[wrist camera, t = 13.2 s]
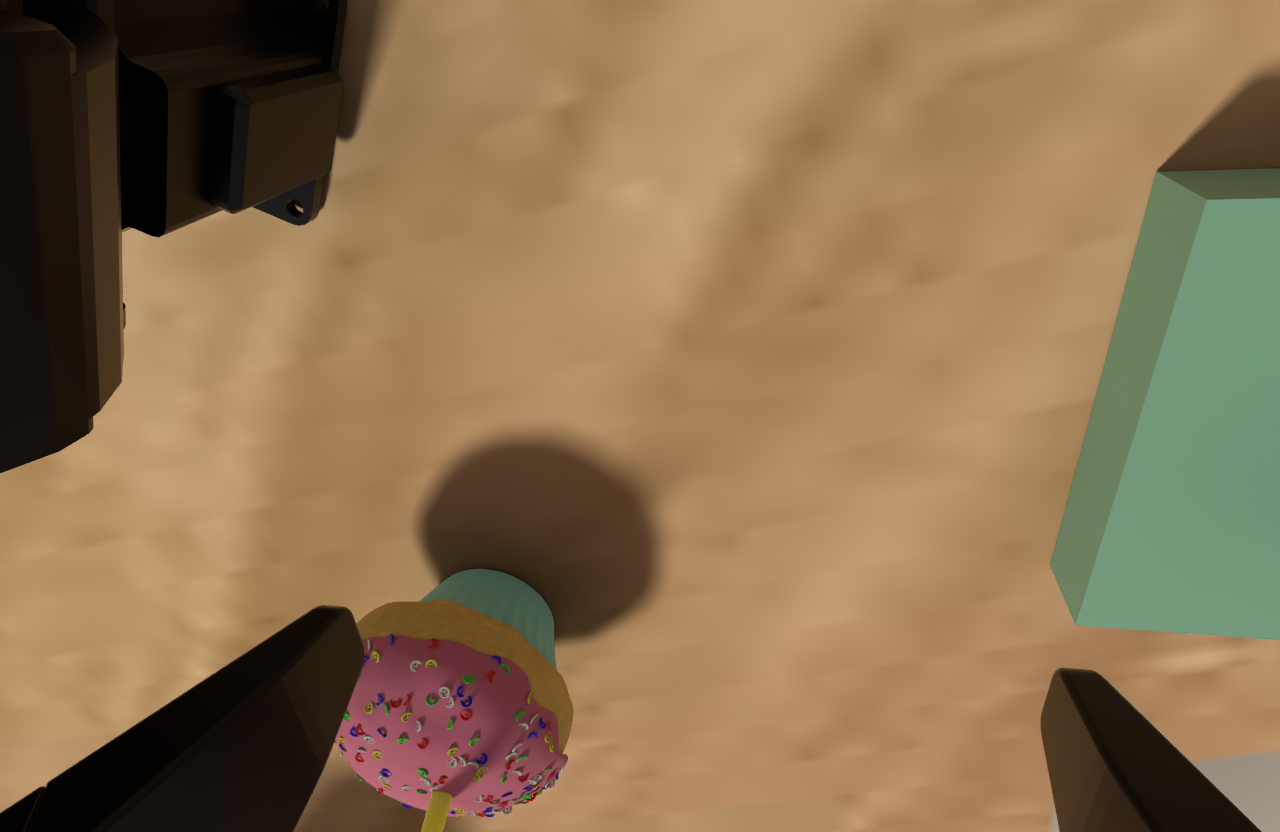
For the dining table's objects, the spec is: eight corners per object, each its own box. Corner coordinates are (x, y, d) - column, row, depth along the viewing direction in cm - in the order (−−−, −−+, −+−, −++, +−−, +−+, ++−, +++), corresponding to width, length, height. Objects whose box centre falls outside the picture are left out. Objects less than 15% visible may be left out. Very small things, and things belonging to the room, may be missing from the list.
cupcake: (644, 646, 28) (563, 1021, 18) (493, 713, 32) (355, 1056, 22) (490, 489, 26) (294, 827, 16) (344, 582, 30) (110, 903, 19)
